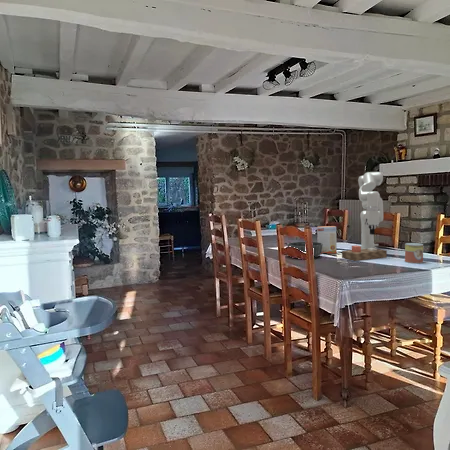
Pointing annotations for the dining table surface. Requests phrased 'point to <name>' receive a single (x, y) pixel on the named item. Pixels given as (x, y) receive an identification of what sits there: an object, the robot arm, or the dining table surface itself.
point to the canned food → (414, 253)
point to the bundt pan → (301, 246)
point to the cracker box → (327, 238)
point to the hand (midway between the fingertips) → (372, 234)
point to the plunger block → (364, 254)
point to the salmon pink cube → (356, 248)
